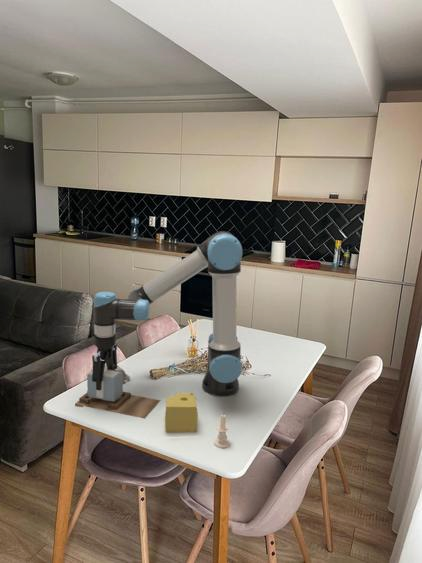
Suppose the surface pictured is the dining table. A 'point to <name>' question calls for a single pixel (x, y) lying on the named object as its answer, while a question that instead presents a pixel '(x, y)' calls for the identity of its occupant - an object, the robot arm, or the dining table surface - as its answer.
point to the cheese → (181, 413)
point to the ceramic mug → (125, 376)
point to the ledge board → (121, 404)
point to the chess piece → (222, 434)
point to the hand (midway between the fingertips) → (105, 392)
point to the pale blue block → (107, 385)
